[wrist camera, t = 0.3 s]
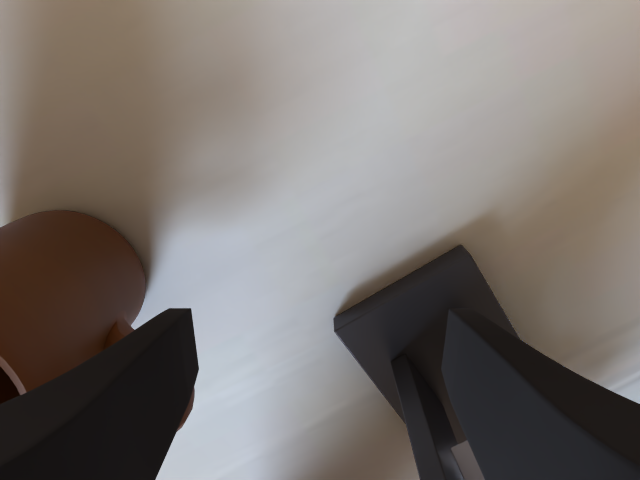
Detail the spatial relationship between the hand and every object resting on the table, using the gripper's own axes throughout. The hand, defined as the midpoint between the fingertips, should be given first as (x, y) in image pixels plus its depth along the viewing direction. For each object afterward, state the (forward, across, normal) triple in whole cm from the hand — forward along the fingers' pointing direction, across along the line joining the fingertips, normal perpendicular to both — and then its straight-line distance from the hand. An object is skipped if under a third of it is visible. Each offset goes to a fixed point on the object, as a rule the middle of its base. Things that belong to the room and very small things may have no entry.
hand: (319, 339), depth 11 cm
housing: (+10, -7, +8) cm, 15 cm away
